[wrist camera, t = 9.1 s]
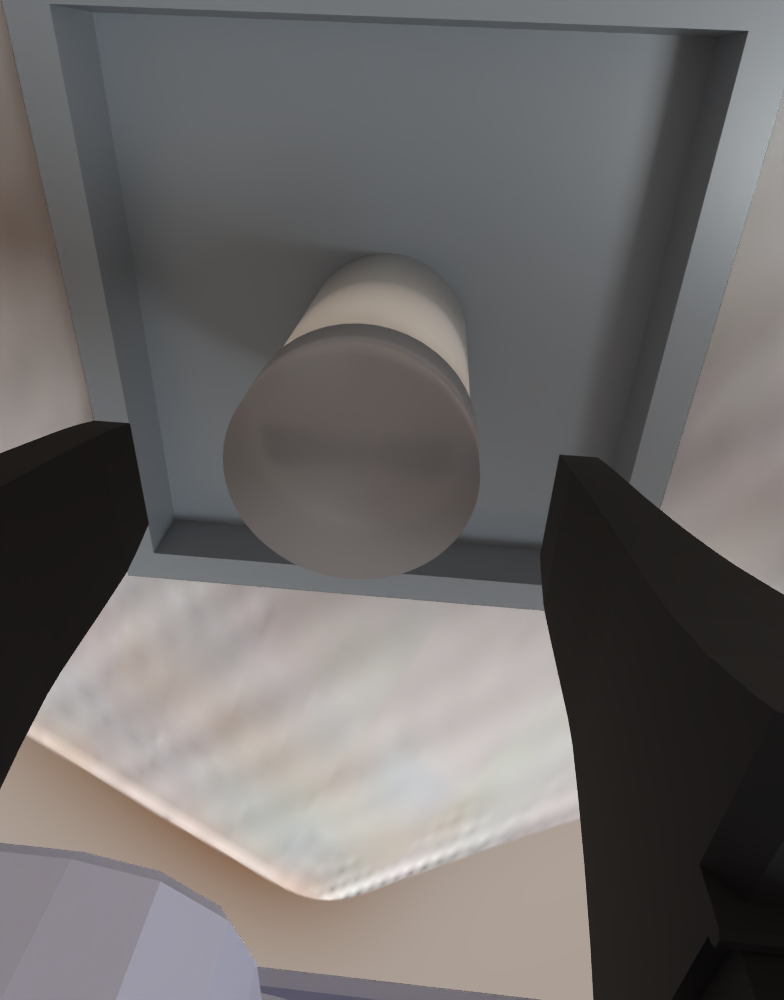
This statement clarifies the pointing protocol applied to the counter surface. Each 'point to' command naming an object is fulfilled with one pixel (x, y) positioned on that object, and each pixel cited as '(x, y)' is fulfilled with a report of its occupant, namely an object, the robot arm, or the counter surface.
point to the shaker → (361, 427)
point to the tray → (398, 229)
